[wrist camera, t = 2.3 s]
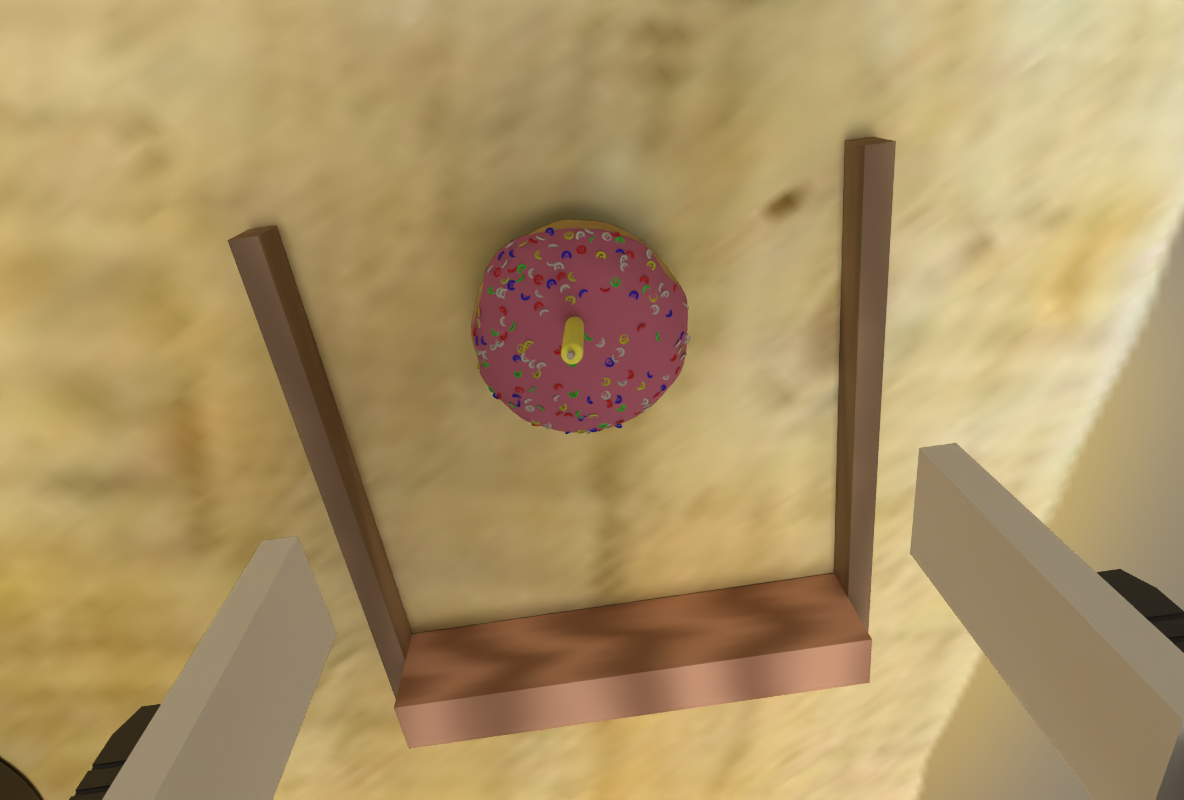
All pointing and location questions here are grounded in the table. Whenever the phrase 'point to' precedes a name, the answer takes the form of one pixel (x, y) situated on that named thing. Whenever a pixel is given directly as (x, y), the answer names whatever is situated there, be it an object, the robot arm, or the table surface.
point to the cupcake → (579, 326)
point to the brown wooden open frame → (631, 630)
